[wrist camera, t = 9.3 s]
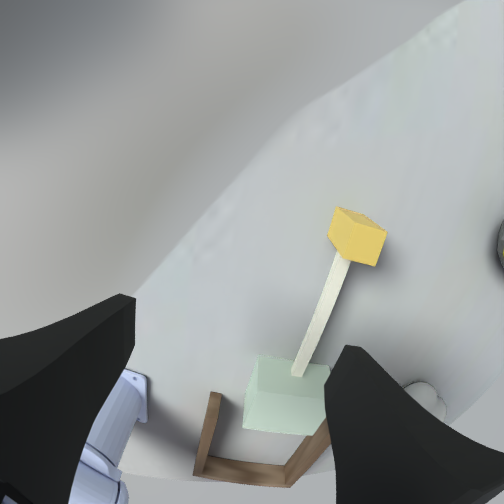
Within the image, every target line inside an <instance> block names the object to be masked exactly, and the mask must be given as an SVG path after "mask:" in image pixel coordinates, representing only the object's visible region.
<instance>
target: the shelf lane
mask: <svg viewBox="0 0 504 504" xmlns="http://www.w3.org/2000/svg"><path fill="white" fill-rule="evenodd" d="M221 396H222V394H220V393H215V392H211V393H210V398H209V402H208V407H207V411H206V415H205V420H204V424H203V429H202V433H201V438H200V442H199V447H198V451H197V456H196V461H195V466H194V471H193V476H198V477H203V478H208V479H213V480H219V481H225V482H232V483H239V484H247V485H258V486H269V487H286V488H290V487H291V486H292V485H293V484H294V483H295V482H296V481H297V480H298V479H299V478H300V477H301V476H302V475H303V474H304V473H305V472H306V471H307V470H308V469H309V468H310V466H311V465H312V464H313V463H314V462H315V461H316V460H317V459H318V458H319V456H320V455H321V454H322V453H323V452H324V451H325V450H326V448H327V447H328V446H329V445H330V444H331V439H330V434H329V429H328V424H327V418H326V417H325V419H324V420H323V422H322V423H321V425H320V426H319V427H318V429H317V430H316V432H315V433H314V434H313V436H311V435H307V436H306V438H305V439H304V440H303V442H302V443H301V445H300V446H299V447H298V449H297V450H296V451H295V453H294V454H293V455H292V457H291V458H290V459H289V460H288V462H287V463H286V464H285V466H279V465H267V464H258V463H250V462H242V461H236V460H229V459H223V458H218V457H213V456H207V454H208V451H209V447H210V444H211V440H212V437H213V434H214V430H215V427H216V423H217V420H218V414H219V408H220V402H221Z"/></svg>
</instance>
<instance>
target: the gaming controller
mask: <svg viewBox="0 0 504 504" xmlns="http://www.w3.org/2000/svg"><path fill="white" fill-rule="evenodd" d="M497 252H498V255H499V258H500V261H501V264H502V266H503V268H504V220H503V222H502V226H501V229H500V232H499V239H498V248H497Z"/></svg>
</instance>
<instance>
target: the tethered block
mask: <svg viewBox="0 0 504 504" xmlns="http://www.w3.org/2000/svg"><path fill="white" fill-rule="evenodd" d="M386 235H387V231H385V230H384V229H383V228H381V227H380V226H379V225H377V224H376V223H375V222H373V221H372V220H371V219H369V218H368V217H366V216H365V215H363V214H360V213H357V212H353V211H350V210H347V209H343V208H340V207H336V209H335V212H334V215H333V219H332V222H331V225H330V228H329V232H328V235H327V236H328V238H329V239H330V240H331V242H332V243H333V245H334V246H335V248H336V249H337V253H336V256H335V258H334V261H333V264H332V267H331V270H330V273H329V275H328V278H327V281H326V284H325V286H324V289H323V292H322V294H321V297H320V300H319V302H318V305H317V307H316V310H315V313H314V315H313V318H312V320H311V323H310V325H309V328H308V330H307V332H306V335H305V337H304V340H303V342H302V345H301V347H300V349H299V352H298V354H297V356H296V359H295V361H293V360H287V359H281V358H276V357H270V356H265V355H258V358H257V361H256V364H255V367H254V370H253V372H252V375H251V378H250V381H249V384H248V387H247V390H246V393H245V401H244V413H243V425H242V428H246V429H253V430H260V431H268V432H276V433H285V434H296V435H311V436H313V434H314V433H315V432H316V430H317V429H318V427H319V426H320V425H321V423H322V422H323V420H324V419H325V417H326V413H325V402H324V384H325V382H326V381H327V379H328V377H329V375H330V369H329V366H328V365H320V364H313V363H309V361H310V359H311V357H312V354H313V352H314V350H315V348H316V346H317V343H318V341H319V339H320V337H321V335H322V332H323V330H324V328H325V325H326V323H327V321H328V318H329V316H330V314H331V311H332V309H333V306H334V304H335V301H336V299H337V296H338V294H339V291H340V289H341V286H342V284H343V281H344V279H345V276H346V273H347V271H348V268H349V265H350V262H351V261H355V262H359V263H363V264H367V265H371V266H375V265H376V263H377V260H378V257H379V255H380V252H381V249H382V247H383V244H384V241H385V238H386Z"/></svg>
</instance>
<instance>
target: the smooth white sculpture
mask: <svg viewBox="0 0 504 504" xmlns="http://www.w3.org/2000/svg"><path fill="white" fill-rule="evenodd" d="M404 390H405V391H406V392H407V393H408V394H409V395H410V396H411V397H412V398H413V399H415V400H416V401H417V402H418V403H419V404H420V405H421V406H422V407H424V408H425V409H426V410H427V411H428V412H430V413H431V414H432V415H434V416H435V417H436V418H438V419H439V420H440V421H442V422H443V423H444V421H445V417H446V412H447V408H446V404H445V402H444V401H443V399H442V398H440V397H437V392H436V390H435V389H434V388H433V387H432V386H431V385H430V384H427V383H424V382H417V383H413V384H411V385H409V386H407V387H405V388H404Z"/></svg>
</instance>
